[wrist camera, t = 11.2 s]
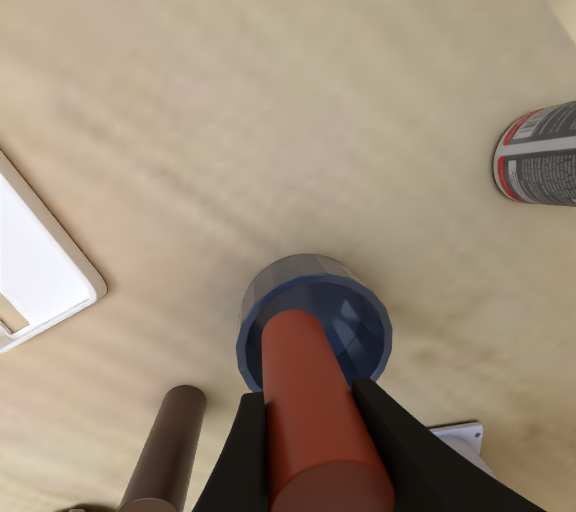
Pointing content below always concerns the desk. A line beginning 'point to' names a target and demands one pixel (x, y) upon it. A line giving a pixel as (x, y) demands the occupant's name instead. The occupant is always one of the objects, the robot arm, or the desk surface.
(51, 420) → the desk surface
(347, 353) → the blue cup
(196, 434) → the walnut peg
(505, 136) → the pill bottle
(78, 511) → the mineral rock
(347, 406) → the red peg
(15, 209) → the phone case
